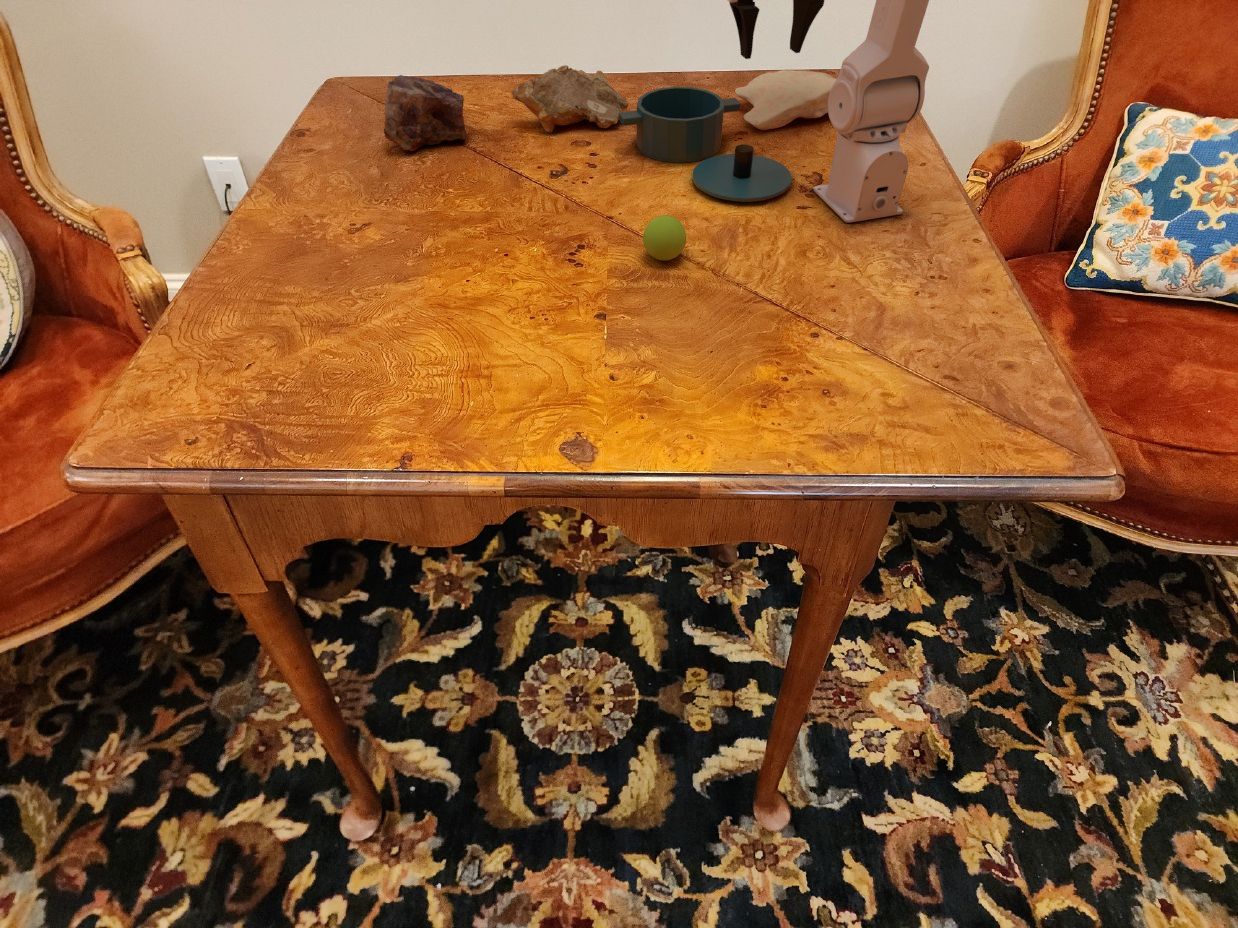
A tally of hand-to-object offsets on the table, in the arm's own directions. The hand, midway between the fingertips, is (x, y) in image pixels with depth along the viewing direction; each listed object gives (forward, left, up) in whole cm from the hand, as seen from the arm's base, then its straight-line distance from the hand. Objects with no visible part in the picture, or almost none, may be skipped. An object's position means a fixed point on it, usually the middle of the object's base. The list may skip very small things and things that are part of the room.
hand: (770, 54), depth 109 cm
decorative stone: (+4, -7, -10) cm, 13 cm away
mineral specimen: (+10, +28, -10) cm, 31 cm away
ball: (-32, +27, -7) cm, 42 cm away
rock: (+10, +50, -10) cm, 51 cm away
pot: (-3, +15, -10) cm, 18 cm away
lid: (-17, +11, -9) cm, 22 cm away
